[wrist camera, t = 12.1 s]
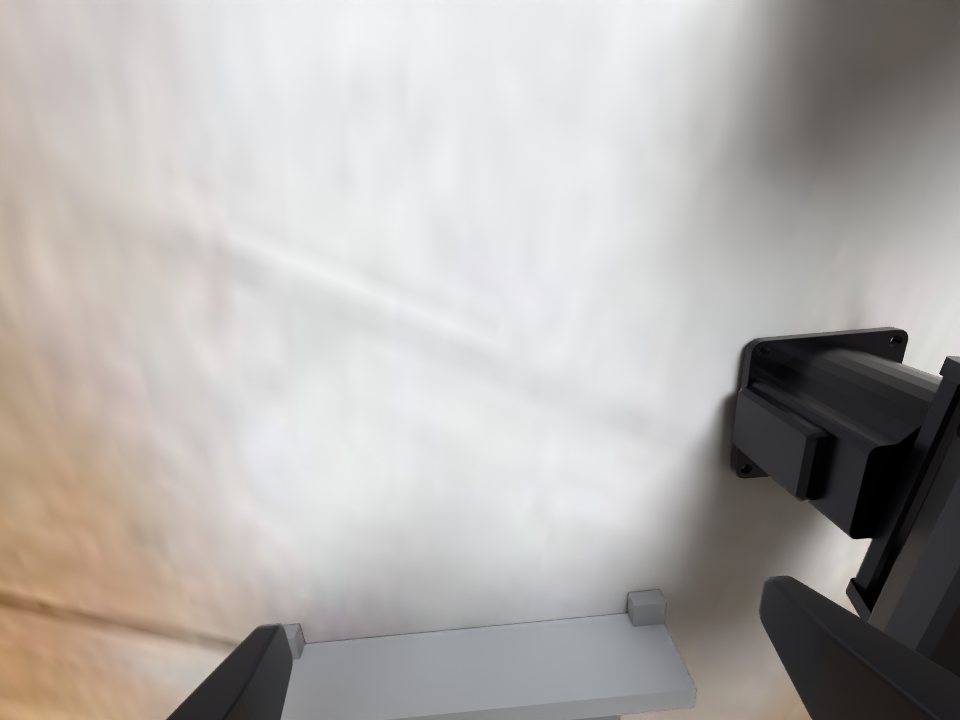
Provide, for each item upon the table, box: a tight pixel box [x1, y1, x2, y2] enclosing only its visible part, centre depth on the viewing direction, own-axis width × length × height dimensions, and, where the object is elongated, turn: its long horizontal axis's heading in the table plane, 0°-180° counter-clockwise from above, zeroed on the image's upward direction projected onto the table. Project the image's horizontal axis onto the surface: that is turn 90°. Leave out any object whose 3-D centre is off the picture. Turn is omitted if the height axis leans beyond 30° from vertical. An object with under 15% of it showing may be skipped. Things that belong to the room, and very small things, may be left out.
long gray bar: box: [281, 590, 697, 720], centre depth 21 cm, size 20×4×4 cm, turn 94°
